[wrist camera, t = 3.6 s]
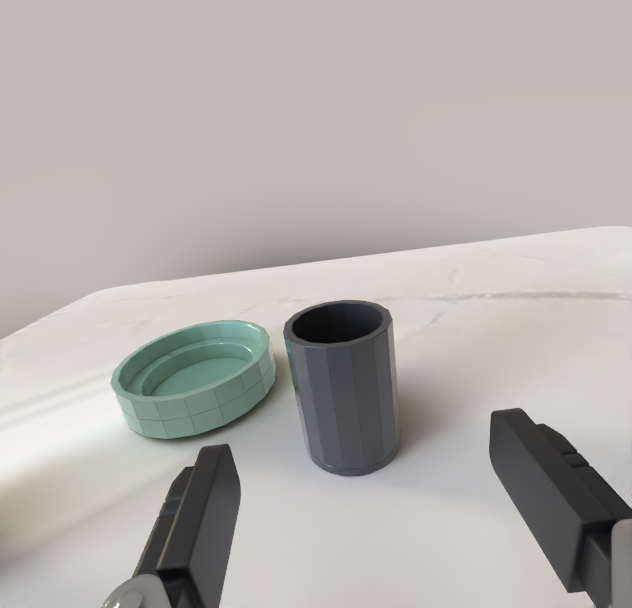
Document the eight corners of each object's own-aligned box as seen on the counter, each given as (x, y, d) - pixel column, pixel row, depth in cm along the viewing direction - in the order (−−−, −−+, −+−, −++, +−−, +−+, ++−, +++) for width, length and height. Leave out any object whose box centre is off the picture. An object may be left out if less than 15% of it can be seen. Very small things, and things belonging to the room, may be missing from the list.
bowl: (259, 341, 41) (252, 309, 39) (295, 406, 29) (287, 363, 27) (134, 378, 37) (121, 344, 35) (118, 470, 25) (97, 425, 24)
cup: (370, 398, 29) (359, 292, 25) (419, 451, 23) (414, 324, 20) (294, 426, 27) (272, 317, 23) (328, 492, 21) (304, 360, 18)
